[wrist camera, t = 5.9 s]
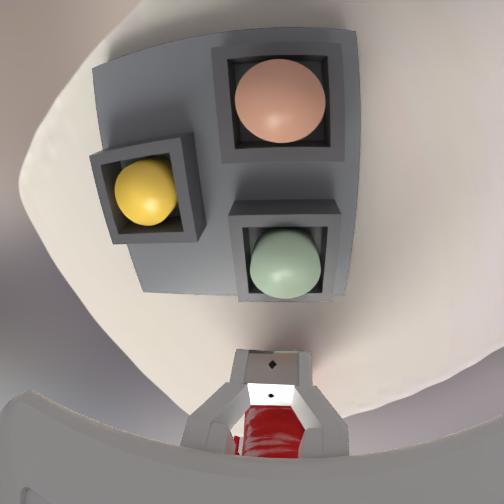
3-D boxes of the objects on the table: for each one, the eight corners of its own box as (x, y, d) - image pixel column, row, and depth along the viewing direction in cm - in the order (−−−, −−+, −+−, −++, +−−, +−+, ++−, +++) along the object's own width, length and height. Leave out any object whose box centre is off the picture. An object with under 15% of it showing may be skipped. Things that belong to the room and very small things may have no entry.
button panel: (348, 37, 13) (367, 22, 9) (340, 280, 23) (349, 316, 20) (106, 68, 15) (71, 68, 11) (151, 279, 26) (132, 309, 22)
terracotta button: (317, 64, 12) (323, 59, 10) (320, 137, 14) (326, 143, 13) (237, 66, 12) (231, 62, 11) (243, 139, 15) (238, 144, 13)
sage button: (319, 225, 17) (323, 240, 15) (315, 280, 19) (318, 298, 18) (250, 225, 18) (247, 241, 16) (255, 280, 20) (252, 298, 18)
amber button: (178, 151, 17) (166, 158, 15) (187, 211, 19) (178, 224, 17) (123, 160, 17) (108, 168, 16) (135, 215, 20) (123, 227, 18)
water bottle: (346, 358, 29) (357, 562, 8) (328, 390, 34) (329, 556, 13) (245, 350, 30) (210, 566, 9) (242, 384, 34) (215, 555, 13)
